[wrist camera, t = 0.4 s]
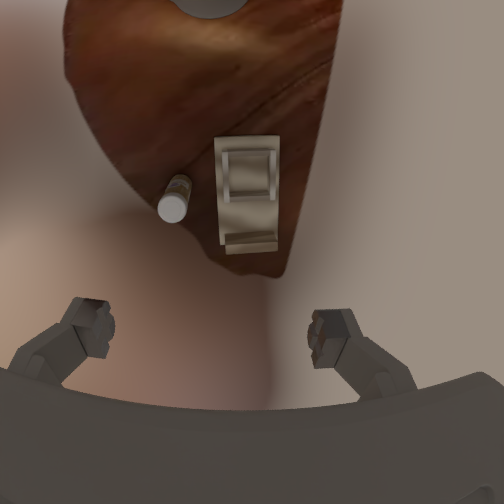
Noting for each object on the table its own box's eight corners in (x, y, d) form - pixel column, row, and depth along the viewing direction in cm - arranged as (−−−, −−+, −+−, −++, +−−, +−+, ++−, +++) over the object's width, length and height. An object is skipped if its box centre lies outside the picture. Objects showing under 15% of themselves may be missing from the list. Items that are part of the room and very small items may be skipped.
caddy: (214, 137, 50) (214, 141, 45) (277, 135, 52) (285, 139, 46) (220, 241, 61) (221, 257, 56) (275, 237, 63) (282, 252, 57)
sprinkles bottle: (185, 169, 53) (177, 190, 41) (196, 189, 55) (191, 215, 44) (165, 180, 53) (151, 204, 42) (176, 200, 56) (166, 228, 44)
